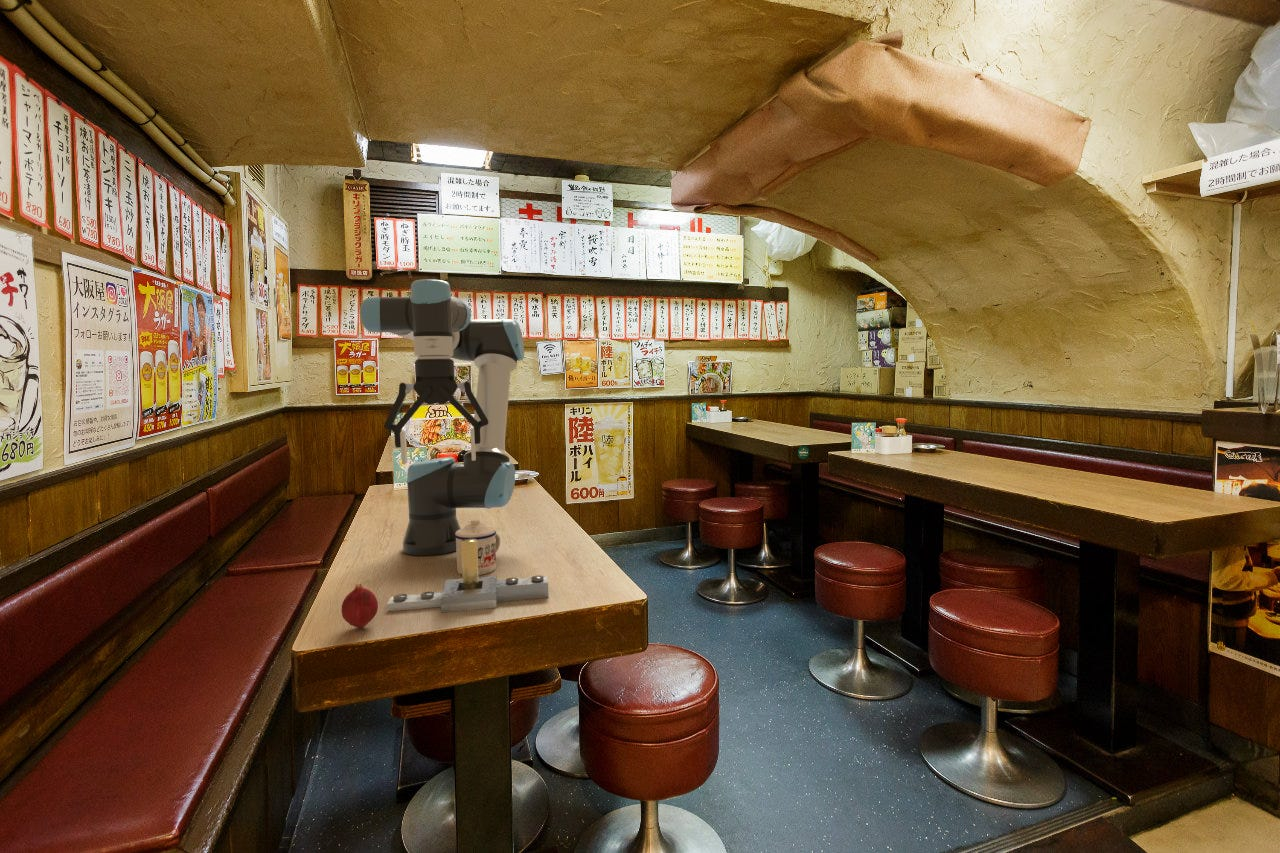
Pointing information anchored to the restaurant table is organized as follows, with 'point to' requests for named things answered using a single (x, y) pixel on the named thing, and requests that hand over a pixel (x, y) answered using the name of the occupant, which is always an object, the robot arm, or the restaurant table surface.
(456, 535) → the teacup with lid
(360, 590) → the onion
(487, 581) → the studded slotted bracket
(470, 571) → the brass pin
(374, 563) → the restaurant table surface
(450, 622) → the restaurant table surface
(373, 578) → the restaurant table surface
